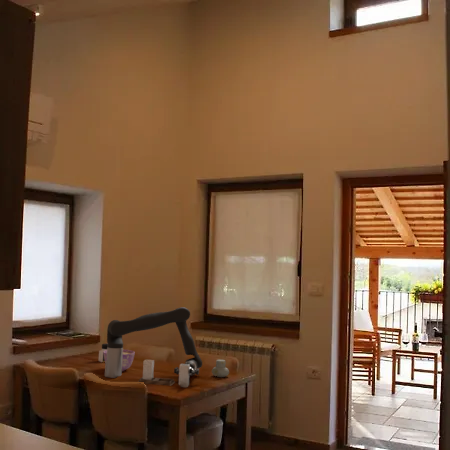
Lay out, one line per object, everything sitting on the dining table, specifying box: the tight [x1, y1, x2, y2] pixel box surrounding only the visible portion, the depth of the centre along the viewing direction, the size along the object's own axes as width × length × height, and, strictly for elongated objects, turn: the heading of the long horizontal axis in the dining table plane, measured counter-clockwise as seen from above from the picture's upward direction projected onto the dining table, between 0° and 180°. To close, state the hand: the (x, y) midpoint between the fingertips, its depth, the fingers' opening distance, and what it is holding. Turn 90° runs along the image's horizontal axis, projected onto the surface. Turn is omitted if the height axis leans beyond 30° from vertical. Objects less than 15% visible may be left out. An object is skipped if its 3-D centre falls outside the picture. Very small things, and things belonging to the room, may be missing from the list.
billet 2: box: [178, 363, 190, 388], centre depth 314 cm, size 5×5×12 cm
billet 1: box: [142, 359, 155, 381], centre depth 316 cm, size 5×5×12 cm
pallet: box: [138, 376, 176, 386], centre depth 315 cm, size 20×11×3 cm, turn 84°
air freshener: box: [211, 359, 230, 378], centre depth 346 cm, size 11×8×10 cm
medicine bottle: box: [98, 343, 108, 363], centre depth 378 cm, size 7×7×12 cm
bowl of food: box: [103, 349, 136, 372], centre depth 350 cm, size 20×20×12 cm
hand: (184, 373), depth 315 cm, fingers open, 8 cm apart
